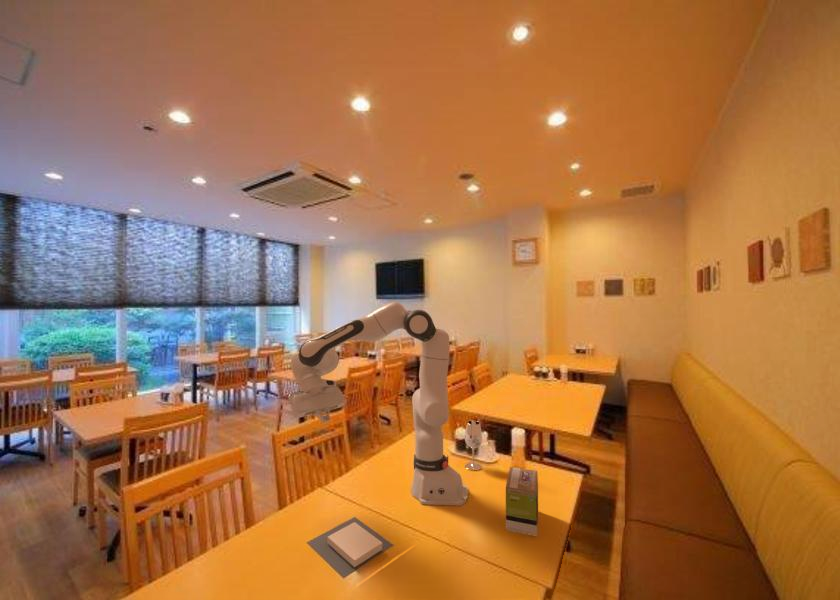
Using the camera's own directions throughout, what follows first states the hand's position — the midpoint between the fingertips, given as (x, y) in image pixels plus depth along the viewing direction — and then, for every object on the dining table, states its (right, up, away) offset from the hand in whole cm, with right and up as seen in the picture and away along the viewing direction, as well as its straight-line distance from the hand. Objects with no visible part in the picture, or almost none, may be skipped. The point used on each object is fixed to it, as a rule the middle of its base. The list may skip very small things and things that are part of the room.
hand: (326, 421), depth 127 cm
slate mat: (+12, -31, -19) cm, 39 cm away
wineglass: (+58, -32, +32) cm, 73 cm away
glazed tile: (+9, -29, -16) cm, 35 cm away
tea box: (+69, -32, -6) cm, 76 cm away
